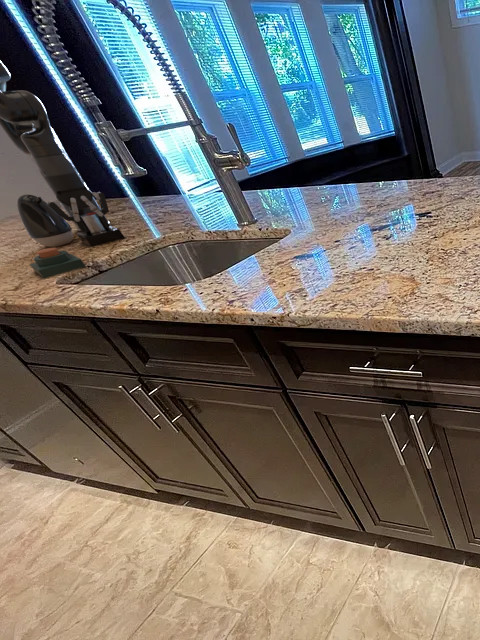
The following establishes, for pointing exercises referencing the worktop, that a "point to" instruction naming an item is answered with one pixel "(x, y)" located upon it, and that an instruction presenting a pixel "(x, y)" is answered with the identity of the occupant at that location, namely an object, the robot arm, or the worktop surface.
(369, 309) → the worktop surface
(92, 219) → the faucet dial
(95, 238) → the faucet panel
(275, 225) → the worktop surface
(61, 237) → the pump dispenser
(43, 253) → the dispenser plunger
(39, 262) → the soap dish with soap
